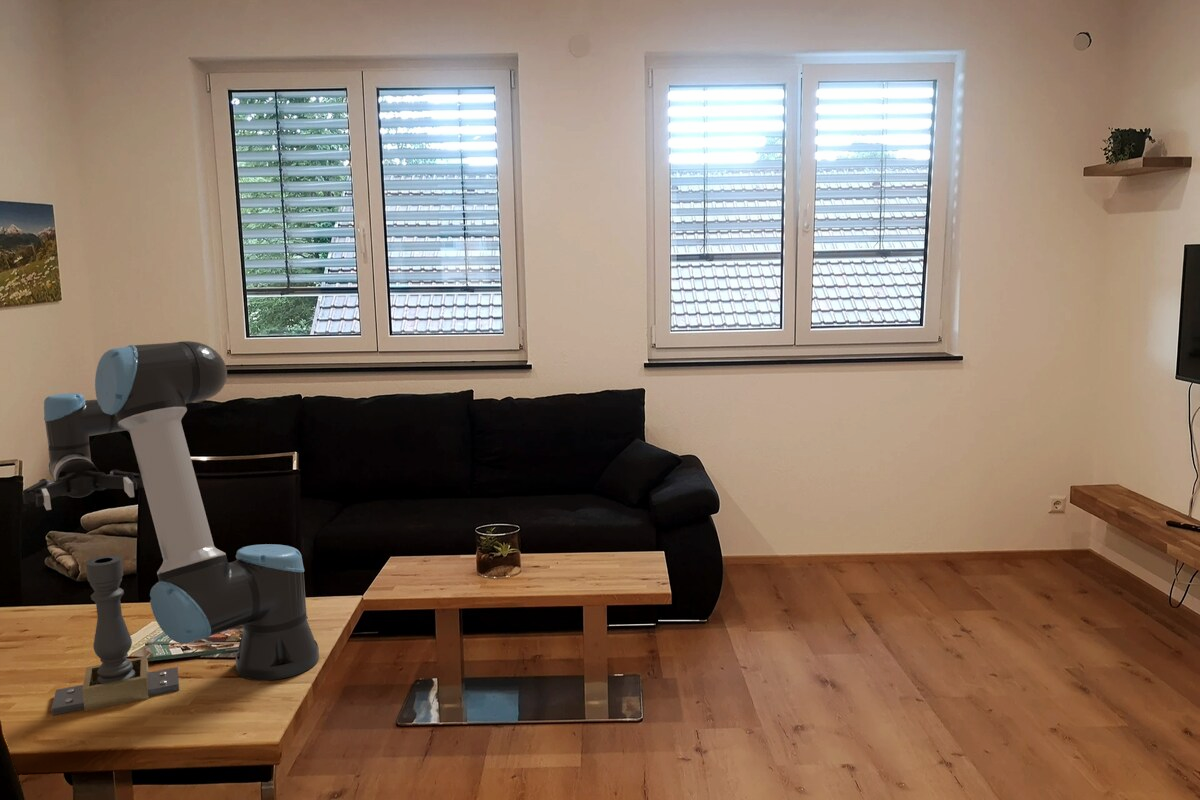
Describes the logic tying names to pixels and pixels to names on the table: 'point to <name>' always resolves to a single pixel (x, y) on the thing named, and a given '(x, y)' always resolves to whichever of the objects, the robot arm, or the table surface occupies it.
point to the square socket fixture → (115, 688)
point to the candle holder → (110, 619)
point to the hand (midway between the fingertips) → (90, 496)
